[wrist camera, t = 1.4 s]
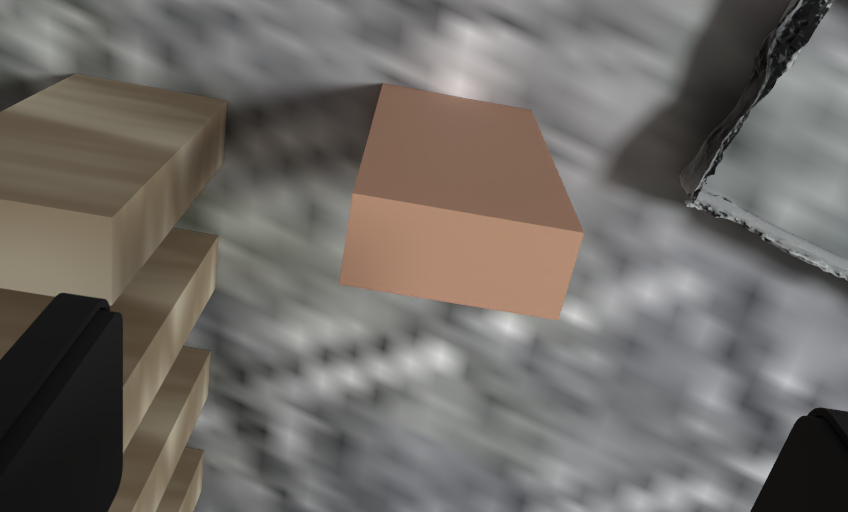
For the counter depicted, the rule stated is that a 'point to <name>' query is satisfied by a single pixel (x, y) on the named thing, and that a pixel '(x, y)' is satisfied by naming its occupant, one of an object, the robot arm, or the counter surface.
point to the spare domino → (460, 207)
